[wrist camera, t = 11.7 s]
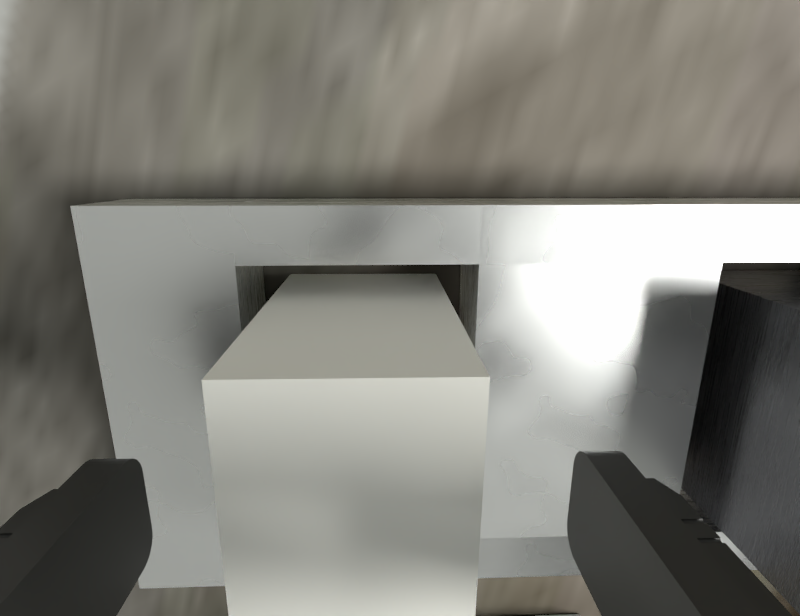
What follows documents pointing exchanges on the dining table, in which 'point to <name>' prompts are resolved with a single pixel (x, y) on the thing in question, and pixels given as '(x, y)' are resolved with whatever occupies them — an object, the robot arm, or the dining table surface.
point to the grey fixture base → (485, 351)
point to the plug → (350, 451)
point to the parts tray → (561, 615)
